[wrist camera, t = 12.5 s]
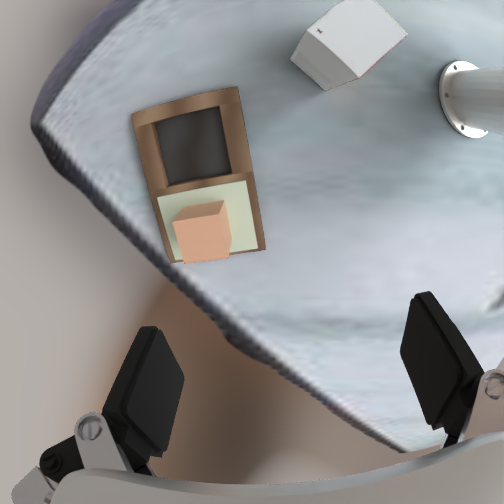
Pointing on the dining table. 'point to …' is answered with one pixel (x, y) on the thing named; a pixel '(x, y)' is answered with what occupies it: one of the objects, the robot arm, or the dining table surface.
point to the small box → (346, 42)
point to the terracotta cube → (203, 232)
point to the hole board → (200, 165)
